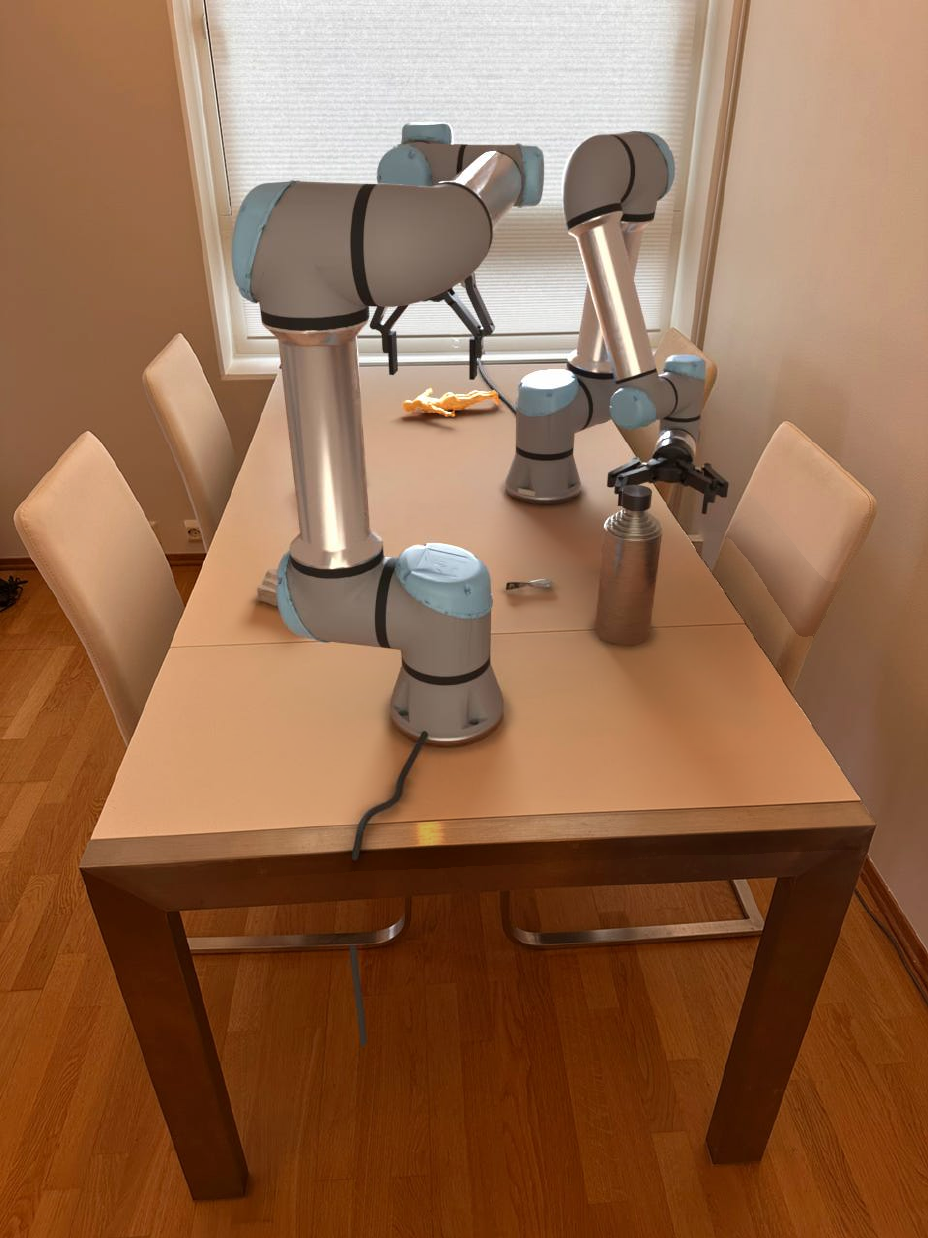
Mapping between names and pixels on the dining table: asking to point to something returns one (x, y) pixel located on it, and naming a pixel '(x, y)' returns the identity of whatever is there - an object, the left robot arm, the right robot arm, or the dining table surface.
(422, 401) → the human figure
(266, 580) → the stone
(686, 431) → the right robot arm
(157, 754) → the dining table surface
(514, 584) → the putty knife
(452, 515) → the dining table surface
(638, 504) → the cap
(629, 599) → the bottle
